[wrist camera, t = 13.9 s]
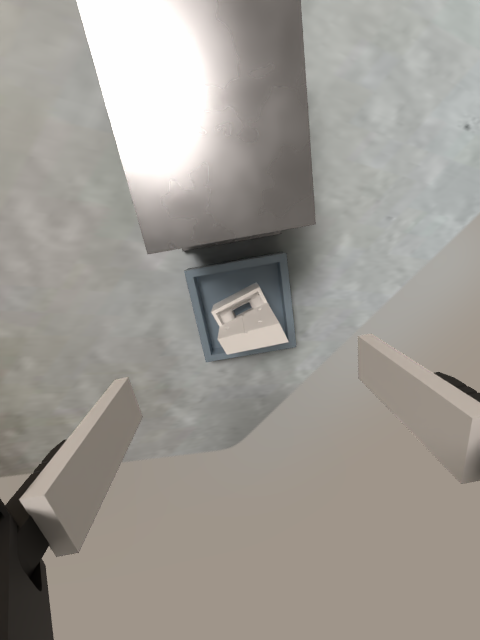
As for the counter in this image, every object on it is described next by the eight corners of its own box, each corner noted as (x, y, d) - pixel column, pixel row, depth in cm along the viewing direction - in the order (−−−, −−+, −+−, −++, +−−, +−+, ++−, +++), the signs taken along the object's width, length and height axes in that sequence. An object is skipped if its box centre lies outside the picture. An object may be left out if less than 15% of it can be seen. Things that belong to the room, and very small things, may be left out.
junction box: (183, 251, 27) (145, 258, 15) (139, 60, 22) (26, -162, 10) (279, 233, 27) (319, 226, 15) (258, 37, 22) (290, -220, 10)
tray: (207, 353, 31) (205, 362, 29) (188, 268, 28) (184, 270, 26) (291, 339, 31) (296, 347, 29) (281, 252, 28) (286, 252, 25)
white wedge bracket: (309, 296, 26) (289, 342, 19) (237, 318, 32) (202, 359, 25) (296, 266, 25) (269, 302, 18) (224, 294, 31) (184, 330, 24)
